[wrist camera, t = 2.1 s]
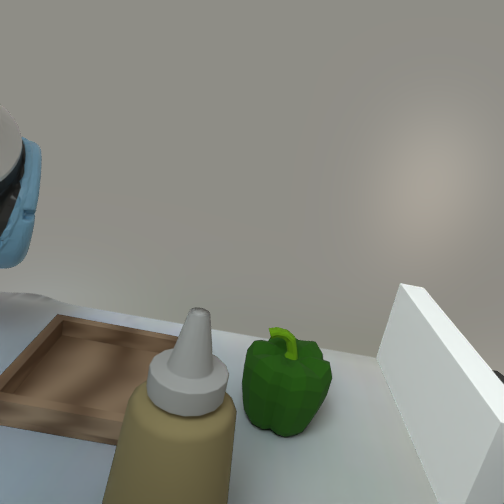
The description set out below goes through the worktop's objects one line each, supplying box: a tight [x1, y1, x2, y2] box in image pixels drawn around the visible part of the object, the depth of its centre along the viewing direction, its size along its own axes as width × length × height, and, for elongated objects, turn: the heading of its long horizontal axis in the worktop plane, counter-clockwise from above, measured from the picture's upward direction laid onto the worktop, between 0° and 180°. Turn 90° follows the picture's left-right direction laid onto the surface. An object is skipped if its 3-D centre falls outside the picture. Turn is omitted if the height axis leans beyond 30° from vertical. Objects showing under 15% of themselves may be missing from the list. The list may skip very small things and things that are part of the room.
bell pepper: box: [242, 327, 332, 437], centre depth 45 cm, size 8×8×10 cm
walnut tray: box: [0, 314, 178, 446], centre depth 46 cm, size 15×15×2 cm
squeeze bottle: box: [102, 308, 237, 504], centre depth 29 cm, size 8×8×18 cm
